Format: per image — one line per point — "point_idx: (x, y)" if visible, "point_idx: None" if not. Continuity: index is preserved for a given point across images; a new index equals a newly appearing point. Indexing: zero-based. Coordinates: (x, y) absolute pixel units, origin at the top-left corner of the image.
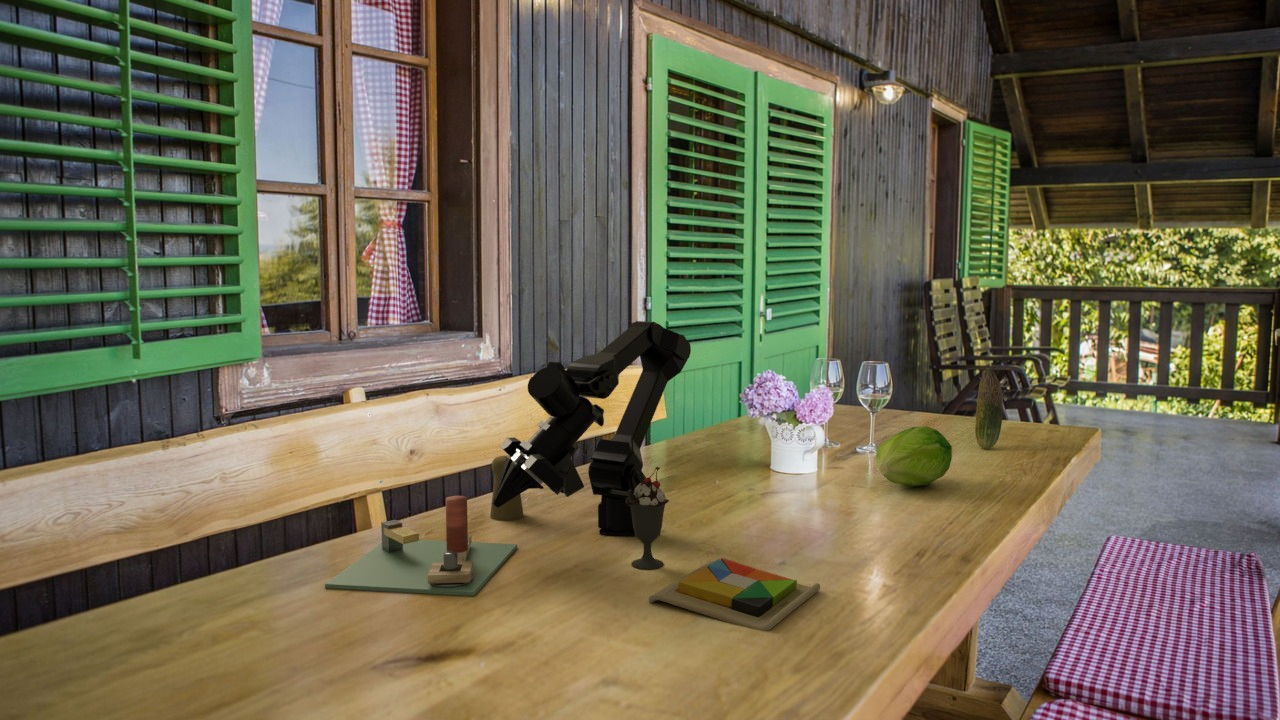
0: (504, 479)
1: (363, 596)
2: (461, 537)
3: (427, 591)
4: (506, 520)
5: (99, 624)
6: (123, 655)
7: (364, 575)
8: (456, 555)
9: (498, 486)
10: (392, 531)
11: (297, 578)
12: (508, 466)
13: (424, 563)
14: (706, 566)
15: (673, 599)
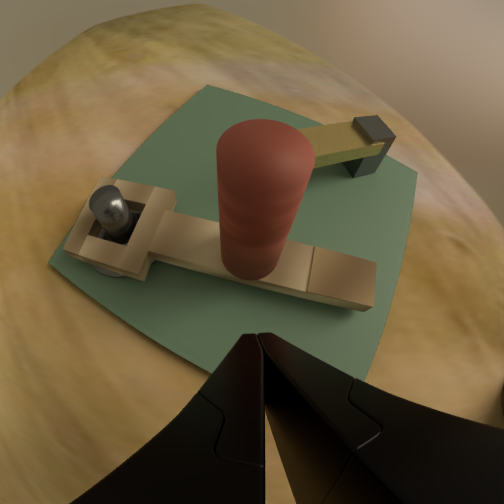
0: (231, 414)
1: (148, 121)
2: (220, 240)
3: None
4: (502, 394)
5: (198, 14)
6: (129, 29)
7: (222, 116)
8: (93, 213)
9: (298, 366)
10: (333, 124)
11: (261, 74)
12: (387, 500)
13: None
14: None
15: None
